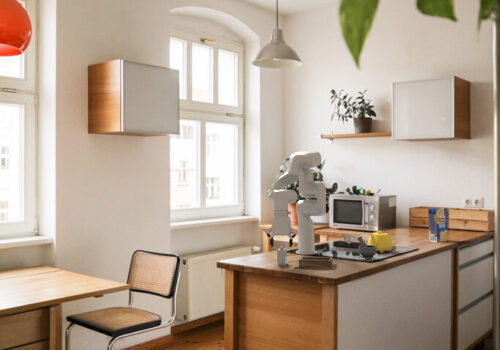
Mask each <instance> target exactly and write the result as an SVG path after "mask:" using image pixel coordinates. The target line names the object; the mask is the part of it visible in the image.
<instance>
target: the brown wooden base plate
mask: <svg viewBox="0 0 500 350" xmlns="http://www.w3.org/2000/svg"><path fill="white" fill-rule="evenodd" d="M336 267H337V263H333V257H332V256H331V257H330V256H301V257H300V258H299V259H298V263H296V265H295V266H294V269H301V270H302V269H307V270H308V269H309V270H310V269H311V270H314V269H315V270H335V269H336Z"/></svg>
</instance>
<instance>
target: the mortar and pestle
mask: <svg viewBox="0 0 500 350" xmlns="http://www.w3.org/2000/svg"><path fill="white" fill-rule="evenodd" d="M363 239H364V238H363V236H357V239H356V240H358V242H359V246H357V248H358V253H359V254H360V256H362V257H361V259H362V258H365V259H372V258H375V257H374V256H375V255H376V254H377V252H378V251H377V246H373V245H367V243H365V242H364V240H363Z"/></svg>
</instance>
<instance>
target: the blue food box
mask: <svg viewBox="0 0 500 350" xmlns="http://www.w3.org/2000/svg"><path fill="white" fill-rule="evenodd" d="M427 210H428V212H427V213H428V216H427V218H428V242H433V243H441V242H447V241H448V208H447V207H431V208H428V209H427Z"/></svg>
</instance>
